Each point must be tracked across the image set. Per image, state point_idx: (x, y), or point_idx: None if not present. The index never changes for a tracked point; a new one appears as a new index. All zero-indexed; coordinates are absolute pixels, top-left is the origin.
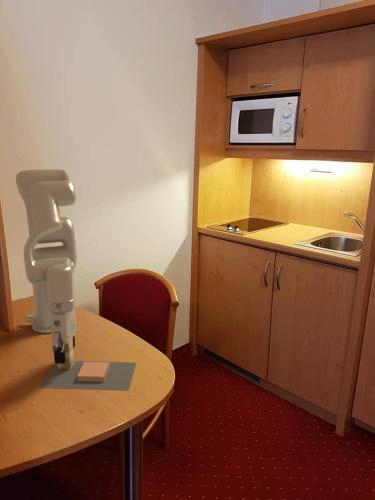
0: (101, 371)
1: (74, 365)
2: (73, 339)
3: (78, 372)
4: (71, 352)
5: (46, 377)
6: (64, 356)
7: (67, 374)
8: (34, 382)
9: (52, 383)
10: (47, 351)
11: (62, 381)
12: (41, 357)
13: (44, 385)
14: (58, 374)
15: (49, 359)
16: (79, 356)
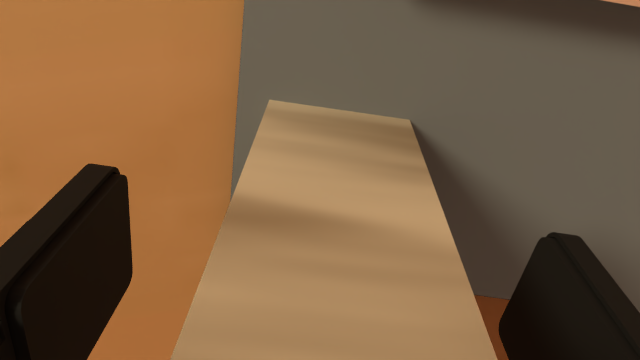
0: None
1: (337, 88)
2: (52, 259)
3: (504, 21)
4: (341, 196)
5: (502, 295)
6: (632, 309)
7: (508, 136)
8: None
9: (625, 242)
10: None
11: (628, 166)
12: (152, 353)
13: (628, 292)
14: (483, 216)
15: (179, 303)
16: (98, 56)
